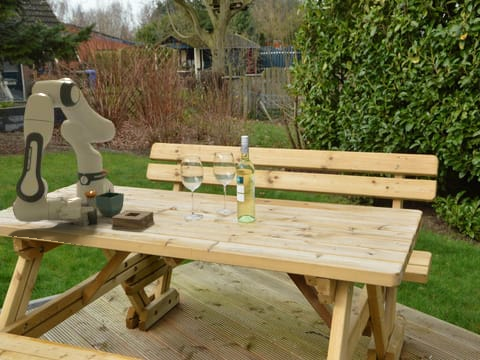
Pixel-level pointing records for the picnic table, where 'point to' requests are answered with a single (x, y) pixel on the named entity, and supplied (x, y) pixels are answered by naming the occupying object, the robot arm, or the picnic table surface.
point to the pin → (91, 202)
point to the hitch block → (132, 219)
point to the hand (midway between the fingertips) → (93, 206)
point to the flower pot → (110, 203)
